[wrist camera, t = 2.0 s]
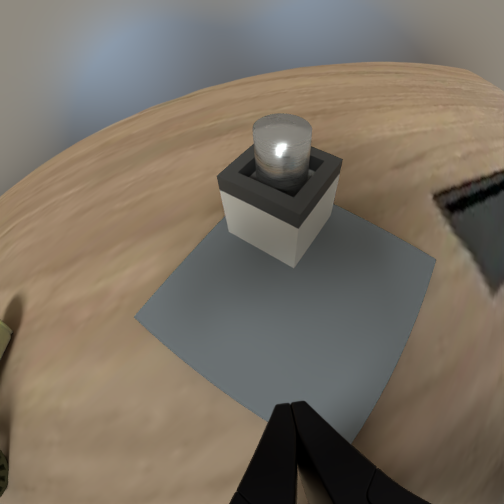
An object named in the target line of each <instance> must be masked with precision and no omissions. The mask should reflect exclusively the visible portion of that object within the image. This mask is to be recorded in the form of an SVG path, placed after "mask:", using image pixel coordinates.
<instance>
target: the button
mask: <svg viewBox="0 0 504 504" xmlns="http://www.w3.org/2000/svg"><path fill="white" fill-rule="evenodd" d="M311 137H312V127H311V125H310V124H309V122H307V121H306V120H305V119H303V118H301V117H299V116H296V115H291V114H271V115H267V116H264V117H262V118H260V119H259V120H257V121H256V122H255V123H254V125H253V140H254V152H255V165H256V178H257V181H258V182H261V183H263V184H265V185H267V186H270V187H272V188H274V189H276V190H278V191H281V192H283V193H285V194H287V195H289V196H291V197H295V196H296V194H297V193H298V192H299V191H300V190H301V188H302V187H303V186H304V185H305V184H306V182H307V180H308V171H309V160H310V149H311Z"/></svg>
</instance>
